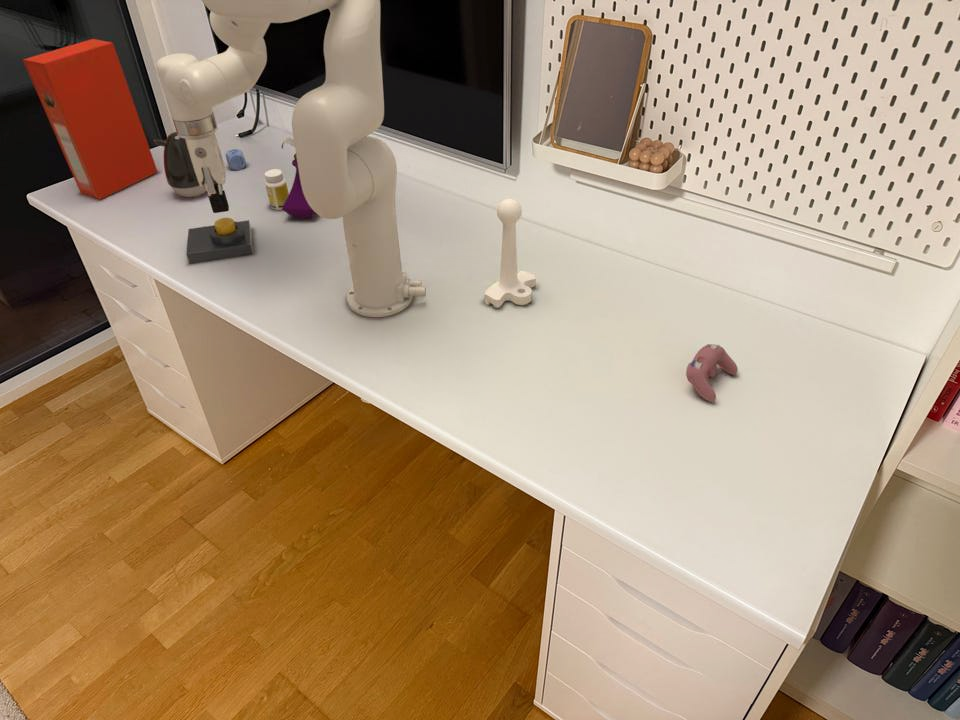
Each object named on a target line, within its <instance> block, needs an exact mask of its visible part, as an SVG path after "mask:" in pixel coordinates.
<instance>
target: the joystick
mask: <svg viewBox="0 0 960 720" xmlns="http://www.w3.org/2000/svg"><path fill="white" fill-rule="evenodd" d="M522 212H523V210H522V205H521V204H520V203H519V201H518V200H516V199H514V198H505V199H503V200H501V201H500V202H499V203H498V206H497V208H496V215H497V218H498V219H499V221H500V222H501V223H502V235H501V236H502V237H501V252H500V253H501V254H500V270H499V271H500V273H499V280H497V281H495V282H494V283H493V284H492V285H490V286H489V287H488V288H487V289H486V290H485V292H484V304H485V305H487V306H490V305H493V307H494V308H497V309H498V308H501V306H502V305H503V304H504V303H505V302H506V301H507V302H508V301H511V302H512V303H513V304H515V305H516V306H517V305H518V306H525V305H527V304H529V303H530V302H531V301H532V298H533V295H532V294H533V289H532V288H534V287H536V285H537V276H536V275H534V274H532V273H530V272H528V271H526V270H520V271H518V254H517V253H518V252H517V232H516V231H517V230H516V227H517V225H516V224H517V222H518V221H519V220H520V219H521V217H522Z"/></svg>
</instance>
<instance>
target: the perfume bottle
mask: <svg viewBox="0 0 960 720" xmlns="http://www.w3.org/2000/svg"><path fill="white" fill-rule="evenodd" d="M284 144H288V145H291V146H292V147H294V148H295V144H294V138H293V137H287V138H286V139H284V140H283V141H282V143H281V147H280V148H281V149H282V150H284ZM291 165H292V166H293V167H295V175H294V179H293V183H292V186H291V189H290V191H289V192H288V193H289V195H288V197H287V199H286V201H285V203H284V205H283V207H282V210H283V211H284V212H285V213H286V214H288V215H289V216H290V217H292V218H293V219H300V220H301V219H302V220H304V219H305V220H311V219H312V218H313V217H314V216H315V212H314V211H313V209H312V208H311V207H310V206H309V204H308V202H307V200H306V198H305V196H304V193H303V190H302V186H301V182H300V176H299V170H298V163H297V157H296V153H294V155H293V160H292V162H291ZM282 210H281V211H282Z"/></svg>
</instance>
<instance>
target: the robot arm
mask: <svg viewBox="0 0 960 720" xmlns="http://www.w3.org/2000/svg"><path fill="white" fill-rule="evenodd" d="M201 1H202V3H203V5H204V6H205V7H206V8H207V9H208V10H209V11H210V13H209V24H210V26H211V27H210V28H211V29H212V31H213V33H214V34H215V35H216V36H217V37H218V39H219V40H220V41H221V42H223V43H224V44H225V45H226V46H228V48H227V49H226V50H225V51H223V52H221V53H218V54H215V55H213V56H210V57H206V58H204V59H202V60H199V59H198V58H197V57H196V56H195V55H193V54H191V53H183V52H182V53H181V52H177V53H171V54H168V55H164V56H162V57H161V58H159V59H158V60H157V62H156V71H157V75H158V79H159V82H160V85H161V87H162V90H163V93H164V94H163V95H164V97H165V100H166V103H167V106H168V109H169V112H170V115H171V120H172V122H173V125H174V128H175V132H177V135H178V136H179V137H181V138H185V141H186V144H187V147H188V151H189V154H190V158H191V161H192V164H193V167H194V171H195V174H196V177H197V179H198V182H199V185H200V186H201V187H204V184H205V187H206V190H207V191H206V192H207V197H208V200H209V203H210V207H211V210H212V213H213V214H219V213H225V212H229V210H230V205H229V202H228V198H227V195H226V191H225V189H224V187H223V185H225V183H226V179H227V177H226V175H227V170H226V168H227V167H226V163H225V161H224V157H223V155H222V151H221V148H220V145H219V141H218V139H217V135H216V132H217V131H218V129H219V128H218V124H217V121H216V118H215V113H214V111H213V108H214V107H216V106H218V105H221V104H223V103H225V102H227V101H229V100H231V99H234V98H236V97H238V96H241V95H244V94H246V93H247V92H249V91H250V90H252V88H253V87H254V86H255V85H256V83H257V82H258V80H259V78H260V76H261V75H262V73H263V71H264V70H265V68H266V65H267V62H268V52H267V45H266V41H265V39H264V37H265V35H266V33H267V30H268V29H269V27H270V25H271V24H283V23H290V22H294V21H297V20H300V19H303V18H306V17H308V16H311V15H314V14H317V13H320V12H322V11H324V10H329V13H330V15H329V18H328V22H327V26H326V29H325V33H324V39H323V56H324V63H325V65H324V66H325V81H324V82H323V83H322V85H320V86H318V87H316V88H314V89H312V90H309V91H308V92H306V93H305V94H304V95H302V96H301V97H300V98H299V99H298V100H297V102H296V104H295V105H294V108H293V111H292V117H291V129H292V139H294V144H295V147H294V151H295V154H296V157H297V163H298V170H299V176H300V182H301V186H302V190H303V193H304V196H305V198H306V200H307V202H308V204H309V206H310V207H311V208H312V209H313V211H314V212H315V213H316V214H317V215H318V216H319V217H321V218H324V219H328V220H336V219H340V218H342V225H343V232H344V238H345V244H346V250H347V256H348V263H349V268H350V276H351V281H352V286H351V288H350V289H349V290H348V292H347V295H346V300H347V305H348V307H349V309H351V311H353V312H354V313H356V314H358V315H360V316H363V317H368V318H383V317H384V318H385V317H388V316H393V315H396V314H397V313H398V314H399V313H400V312H401V311H403V310H405V309H406V308H407V307H409V305H410V304H411V302H412V300H413V297H426V296H427V286H425V285H424V286H423V285H422V284H423V283H422V279H421V280H419V279H418V280H417V279H415V280H410V279H409V278H408V276H407V271H403V267H402V258H401V248H400V240H399V239H400V237H399V231H398V220H397V209H396V190H397V182H398V181H397V179H398V168H397V167H398V166H397V160H396V157H395V155H394V152H393V151H392V149H391V148H390V146H389V145H388V144H387V143H386V142H385V141H383V140H382V139H380V138H378V137H374V136H369V135H371V134H373V133H374V132H375V131H377V130H378V129H379V128H380V127H381V125H382V123H383V121H384V118H385V99H384V98H385V97H384V82H383V80H384V79H383V64H382V54H381V53H382V52H381V0H201ZM315 213H314V214H315Z"/></svg>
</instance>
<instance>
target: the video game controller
mask: <svg viewBox="0 0 960 720" xmlns="http://www.w3.org/2000/svg"><path fill="white" fill-rule="evenodd" d="M717 366H718V367H719V368H721V369H722V370H723V371H724V372H726V373H727V374H730V375H732V376H735V375H736V374H737V373H738V371H739V370H738V369H739V368H738V366H737V364H736V362H735V361H734V360H733V359H732V357H731V356H730V355H729V353H727V351H726V350H725V348H724V347H723V346H720V344H715V343H708V344H706V345H704V346H702V347H700V349H699V350H698V351H697V353H696V354H695V355H694V357H693V359H692V361H691V362H689V363H688V364H687V366H686V373H685V374H686V375H685V376H686V379H687V381H688V383H690V384H691V385H692V387H693V388H694V390H695V392H696V393H698V395H699V396H700V397H701V398H703V399H704V400H705V401H706V402H711V403H712V402H714V401H716V399H717V395H716V392H715V390H714V389H713V387H712V386H711V385H710V383H709V377H715V376H716V375H717V371H718V367H717Z"/></svg>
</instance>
